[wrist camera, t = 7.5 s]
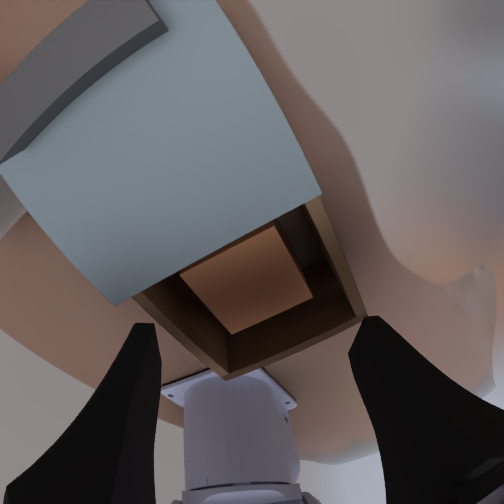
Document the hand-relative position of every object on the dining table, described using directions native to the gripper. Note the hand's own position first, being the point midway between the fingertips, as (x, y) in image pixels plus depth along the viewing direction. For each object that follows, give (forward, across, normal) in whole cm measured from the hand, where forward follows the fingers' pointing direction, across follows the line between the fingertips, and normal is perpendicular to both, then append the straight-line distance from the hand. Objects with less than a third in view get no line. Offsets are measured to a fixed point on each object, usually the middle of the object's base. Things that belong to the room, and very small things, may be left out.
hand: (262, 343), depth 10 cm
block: (+7, 0, 0) cm, 7 cm away
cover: (+2, +4, -6) cm, 7 cm away
